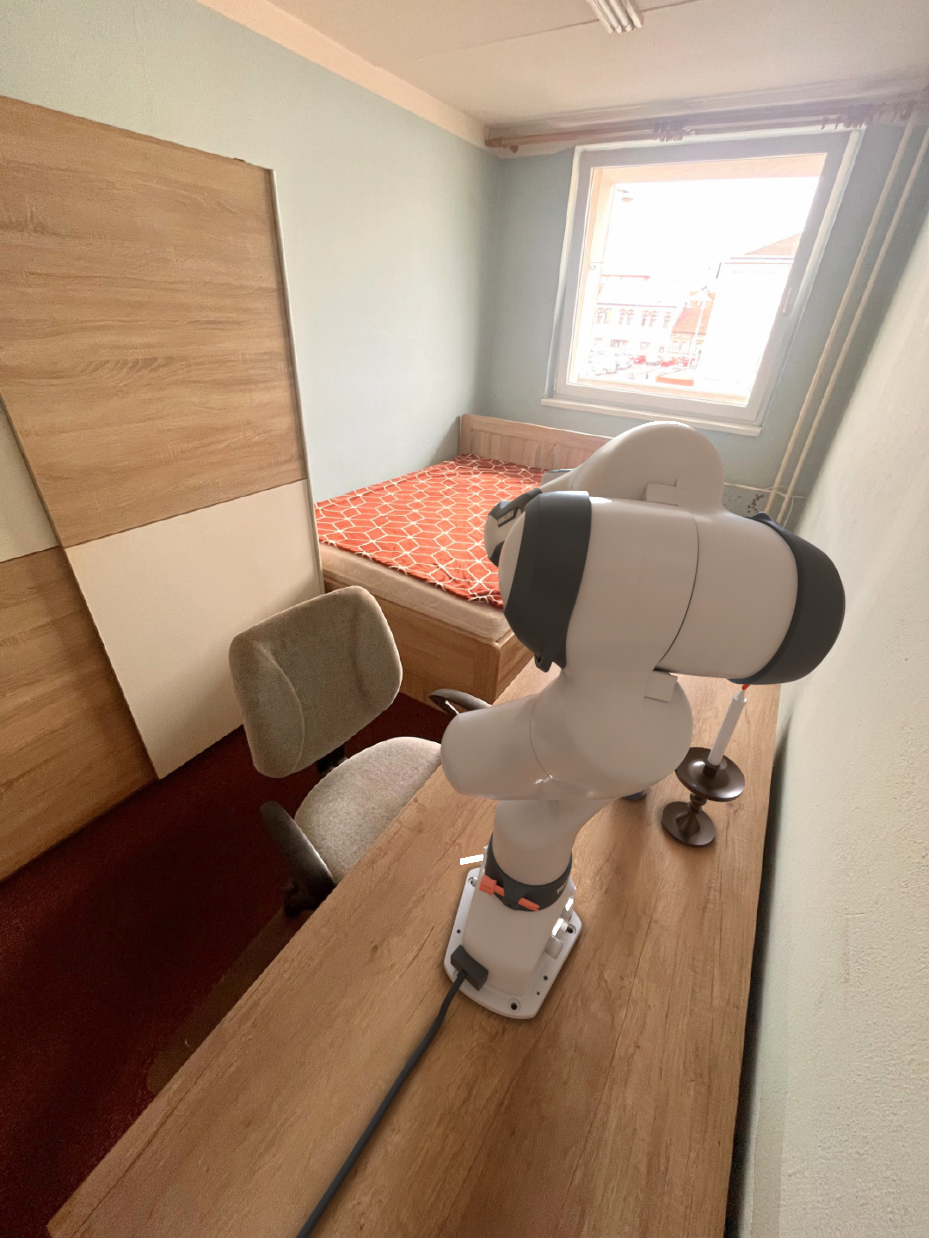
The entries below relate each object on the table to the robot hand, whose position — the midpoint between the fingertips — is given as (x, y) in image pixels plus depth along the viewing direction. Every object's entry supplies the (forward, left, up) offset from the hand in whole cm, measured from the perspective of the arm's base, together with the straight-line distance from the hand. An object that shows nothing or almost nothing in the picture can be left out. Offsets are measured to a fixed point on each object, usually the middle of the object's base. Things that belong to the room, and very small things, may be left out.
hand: (558, 643), depth 89 cm
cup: (+1, -18, -29) cm, 34 cm away
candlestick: (-3, -29, -29) cm, 41 cm away
